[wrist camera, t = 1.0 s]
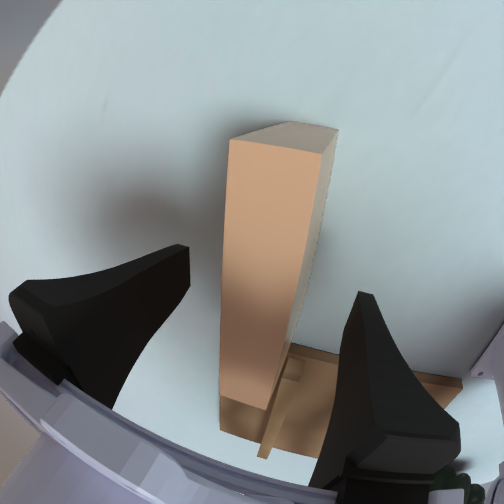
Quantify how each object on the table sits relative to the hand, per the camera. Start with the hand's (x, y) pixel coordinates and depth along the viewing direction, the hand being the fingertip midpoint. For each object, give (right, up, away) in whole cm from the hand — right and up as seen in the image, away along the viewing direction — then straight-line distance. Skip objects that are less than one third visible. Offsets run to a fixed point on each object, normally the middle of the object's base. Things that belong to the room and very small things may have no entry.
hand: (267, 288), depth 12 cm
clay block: (+2, +3, +5) cm, 6 cm away
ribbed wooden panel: (+6, -14, +13) cm, 20 cm away
